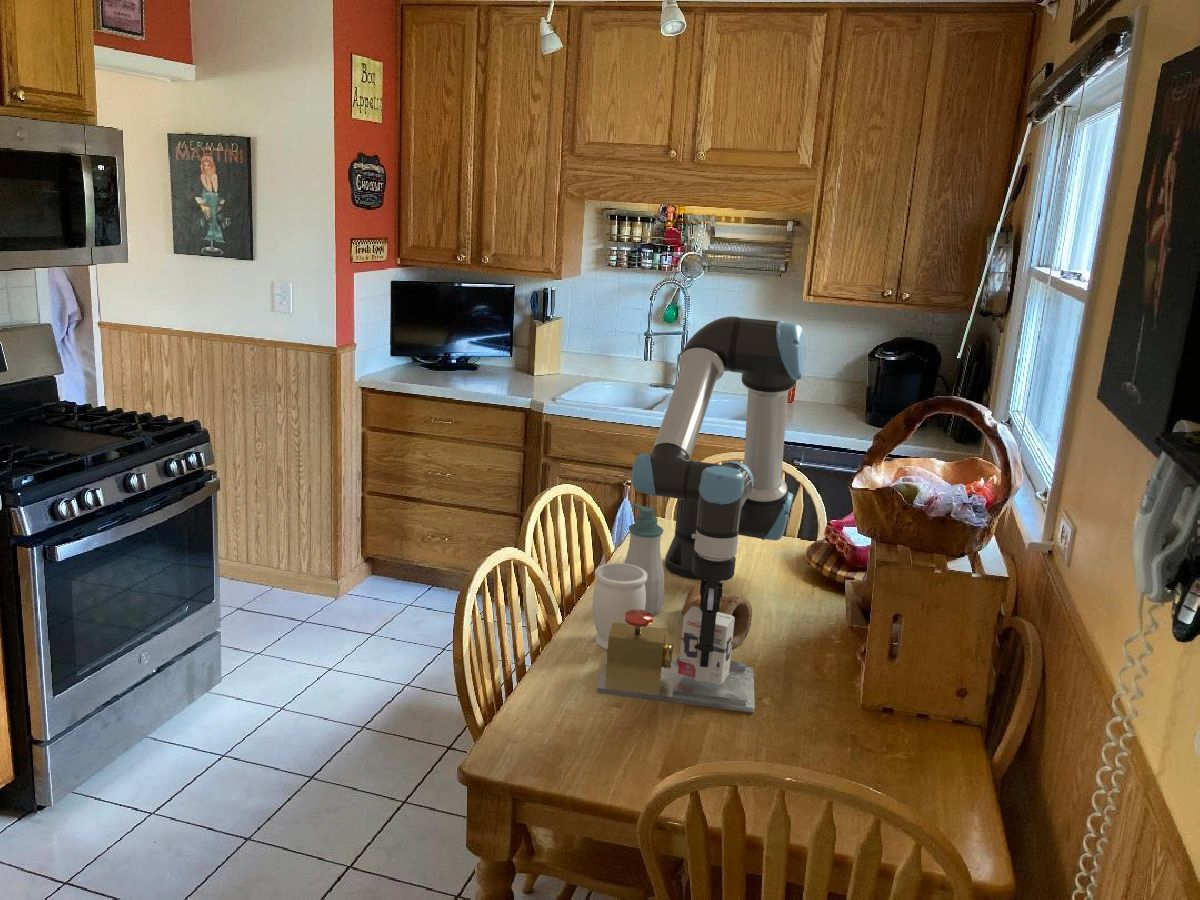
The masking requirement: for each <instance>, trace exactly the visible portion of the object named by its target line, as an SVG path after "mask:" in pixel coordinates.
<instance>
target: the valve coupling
mask: <svg viewBox="0 0 1200 900" xmlns="http://www.w3.org/2000/svg"><path fill="white" fill-rule="evenodd" d="M653 618H654V616H653V615H652V614H651V613H650V612H647V611H644V610H630V611H628V612H626V614H625V621H626V622H627V623H628V624H623V623H615V622H613V623H612V627H611V630H610V633H609V638H608V650H606V651H607V652H606V655H605V658H604V662H603V665H602V669H601V671H600V672H601V673H600V676H599V679H598V681H597V686H596V693H597V694H604V695H605V694H606V695H614V696H619V697H620V696H621V697H629V698H635V699H636V698H637V699H643V700H645V699H646V700H652V701H659V702H666V703H667V702H668V703H674V704H675V703H676V704H683V705H692V706H697V707H698V706H699V707H706V708H713V709H721V710H728V711H729V710H730V711H736V712H744V713H745V712H746V713H752V714H754V713H755V709H756V708H755V703H756V702H755V681H754V680H755V679H754V678H755V677H754V675H755V674H754V667H753V666H747V663H746V662H742V661H735V660H734V661H731V660H730V667H729V675H728V676H727V677H726V679H725V680H724V682H723V683H722V684H721V685H718V684H715V683H711V682H703V681H695V678H694V677H690V676H687V675H683V674H679V673H678V667H679V656H680V654H677V657H673V651H674V644H672V643H666V633H667V628H666V627H664V628H663V627H654V626H650V625H652V623H653V620H654V619H653Z"/></svg>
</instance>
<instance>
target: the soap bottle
mask: <svg viewBox="0 0 1200 900" xmlns="http://www.w3.org/2000/svg"><path fill="white" fill-rule="evenodd" d="M632 508H634V509H637V510H639V511H640V513H639V515H637V516H636V518H635V523H633V524H630V525H629V527H628V530H629V533H630V534H629V543H628V549H627V553H626V556H625V559H624V562H623V563H625V564H631V565H635V566H638V567H640V568H642V569H644V570H645V571H646V572H647V574H648V576H647V581H646V582H645V583H644V584H645V590H646V604H645V610H644V611H647V612H650V613H651V614H652V615H653V617H654V616H656V615H658V614H659V613H660V612H661V611H662V608H663V606H664V593H665V572H664V567H663V561H662V555H661V538H662V537H661V536H662V534H663V533H664V529H663V527H662V526H660V525H659V524H658V517H657V516H655V508H653V507H651V506H643V505H641V504H638V503H633V504H632Z"/></svg>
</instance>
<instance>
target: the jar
mask: <svg viewBox="0 0 1200 900" xmlns="http://www.w3.org/2000/svg"><path fill="white" fill-rule="evenodd" d="M647 576H648V574H647V572H646V571H645V570H644V569H642V568H640V567H638V566H635V565H631V564H625V563H624V562H623V563H622V562H614V563H613V562H612V563H605V564H601V565H599V566H598V567H597V568H596V569H595V570H594V577H595V579H596V581H595V585H594V588H593V594H592V595H593V596H592V609H593V610H592V612H593V620H594V621H593V622H594V626H595V630H596V632H597V634H596V636H595V644H597V646H598V647H600V648H603V649H605V650H606V651H608V638H609V633H610V630H611V627H612V623H613V622H615V623H623V624H628V623H627V622H626V621H625V614H626V612H628V611H630V610H645V604H646V590H645V584H644V583H645V582H646V581H647Z"/></svg>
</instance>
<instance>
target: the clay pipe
mask: <svg viewBox="0 0 1200 900" xmlns="http://www.w3.org/2000/svg"><path fill="white" fill-rule="evenodd" d="M700 586H701V582H700V583H697V584H695V585H693V586H692V587H691V588H690V589H689V591H688V592H687V596H686V598H685V601H684V604H683V607H682V609H681V618H682V619H683V618H684V615H685V614H686V612H687V611H688V610H689V609H690V608H691V607H699V608H700V601H701V595H700ZM718 612H720V613H724V614H728V615H732V616H733V617H734V618H735V620H734V630H733V639H732V648H733V649H734V648H736V647H739V646H741V645H742V643H744V641H745V639H747V636H748V634H749V631H750V628H751V625H752V617H753V608H752V604H751V601H750V600H749V599H748V598H746V597H745V596H744V595H743V594H736V595H727V594H726V593H722V597H721V598H720V606H719V611H718ZM732 648H731V649H732Z"/></svg>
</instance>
